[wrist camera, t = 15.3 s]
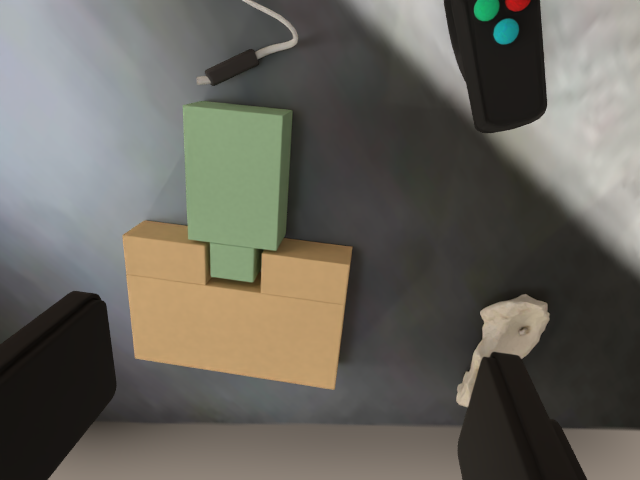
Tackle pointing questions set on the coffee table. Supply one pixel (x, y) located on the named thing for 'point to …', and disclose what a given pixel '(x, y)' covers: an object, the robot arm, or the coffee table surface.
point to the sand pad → (237, 307)
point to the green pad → (237, 182)
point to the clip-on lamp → (246, 55)
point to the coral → (506, 335)
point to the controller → (500, 60)
